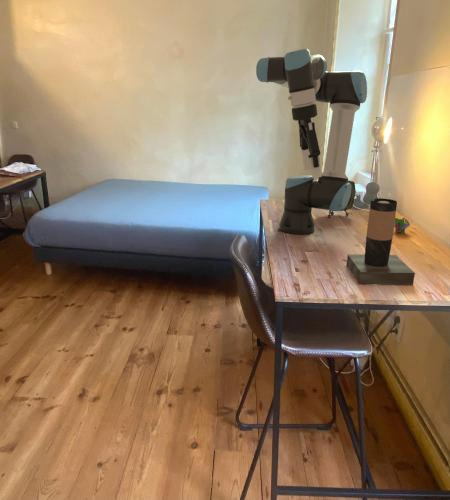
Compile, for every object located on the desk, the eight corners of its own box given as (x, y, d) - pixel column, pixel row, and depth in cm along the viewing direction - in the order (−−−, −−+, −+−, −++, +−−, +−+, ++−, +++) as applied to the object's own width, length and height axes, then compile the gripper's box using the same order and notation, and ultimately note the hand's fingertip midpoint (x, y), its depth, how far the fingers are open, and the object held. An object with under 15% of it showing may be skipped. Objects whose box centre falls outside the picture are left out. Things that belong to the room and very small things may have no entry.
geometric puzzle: (400, 232, 174) (408, 215, 175) (385, 228, 179) (393, 211, 180) (406, 239, 179) (414, 222, 180) (391, 235, 184) (399, 219, 185)
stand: (346, 265, 144) (347, 254, 142) (394, 266, 143) (395, 254, 142) (359, 284, 128) (361, 272, 127) (412, 285, 128) (415, 272, 127)
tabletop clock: (328, 219, 201) (332, 166, 193) (316, 215, 209) (320, 163, 201) (352, 216, 206) (358, 164, 198) (340, 212, 214) (345, 162, 206)
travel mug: (392, 267, 131) (401, 203, 124) (367, 267, 131) (375, 203, 125) (383, 258, 138) (392, 198, 132) (360, 258, 138) (367, 198, 132)
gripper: (285, 105, 141) (294, 168, 149) (298, 110, 118) (308, 183, 126) (307, 100, 141) (316, 163, 149) (325, 104, 118) (333, 178, 125)
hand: (312, 173), depth 137 cm, fingers open, 13 cm apart
